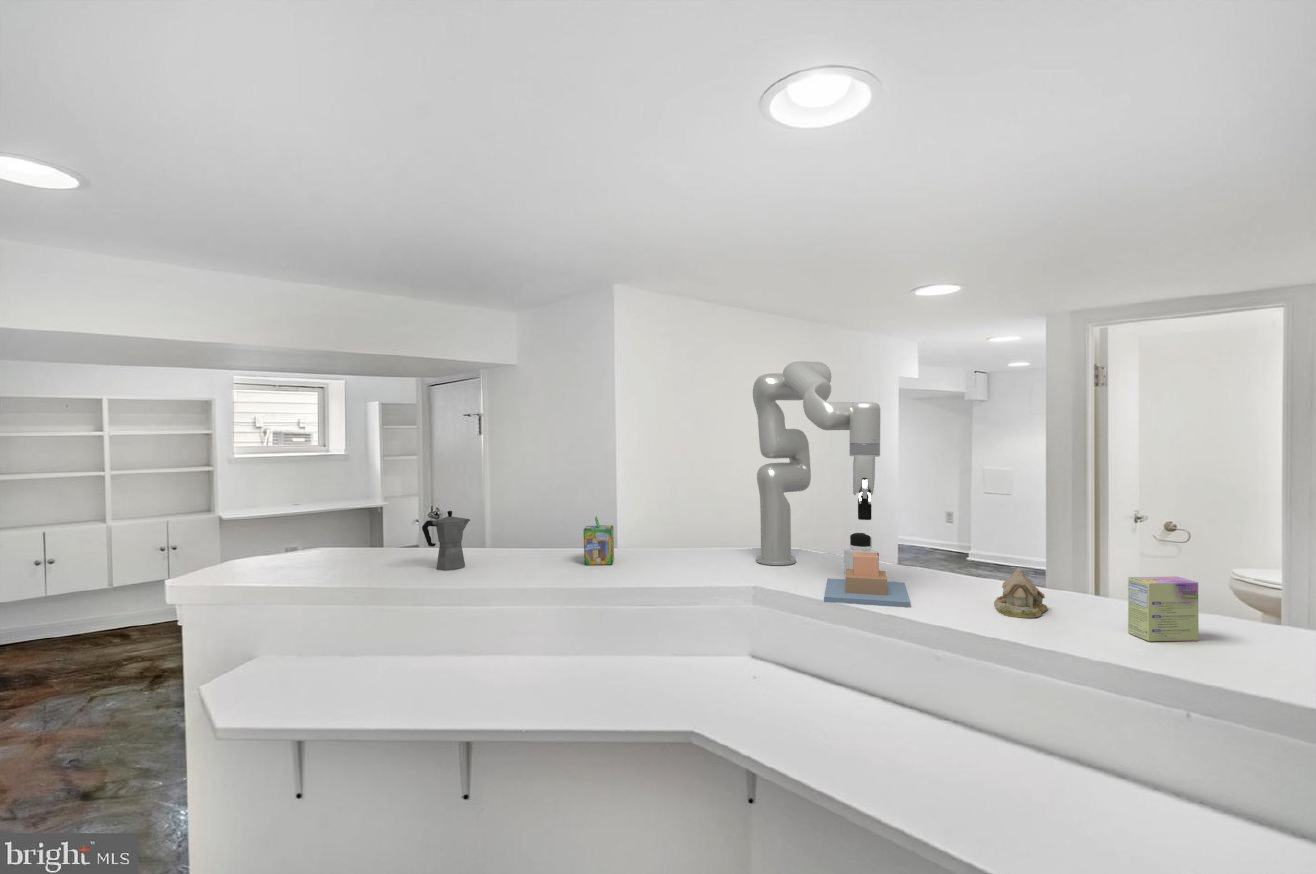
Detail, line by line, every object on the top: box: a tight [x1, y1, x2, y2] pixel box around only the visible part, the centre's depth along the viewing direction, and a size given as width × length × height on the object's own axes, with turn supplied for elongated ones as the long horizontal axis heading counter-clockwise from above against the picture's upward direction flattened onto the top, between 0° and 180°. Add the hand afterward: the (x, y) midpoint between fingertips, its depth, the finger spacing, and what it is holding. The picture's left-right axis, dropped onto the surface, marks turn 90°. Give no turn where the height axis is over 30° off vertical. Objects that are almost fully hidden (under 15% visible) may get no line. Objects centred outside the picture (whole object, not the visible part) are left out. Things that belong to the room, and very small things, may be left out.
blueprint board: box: [823, 569, 911, 608], centre depth 167 cm, size 20×20×5 cm
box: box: [1127, 576, 1200, 642], centre depth 132 cm, size 10×6×12 cm, turn 92°
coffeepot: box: [421, 510, 471, 571], centre depth 205 cm, size 15×9×18 cm, turn 129°
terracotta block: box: [853, 552, 880, 577], centre depth 167 cm, size 6×6×5 cm
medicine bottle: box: [843, 532, 880, 574], centre depth 189 cm, size 7×7×12 cm
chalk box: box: [582, 515, 615, 566], centre depth 210 cm, size 9×9×15 cm
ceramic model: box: [993, 567, 1048, 619], centre depth 152 cm, size 14×11×10 cm
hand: (864, 516), depth 167 cm, fingers open, 9 cm apart
